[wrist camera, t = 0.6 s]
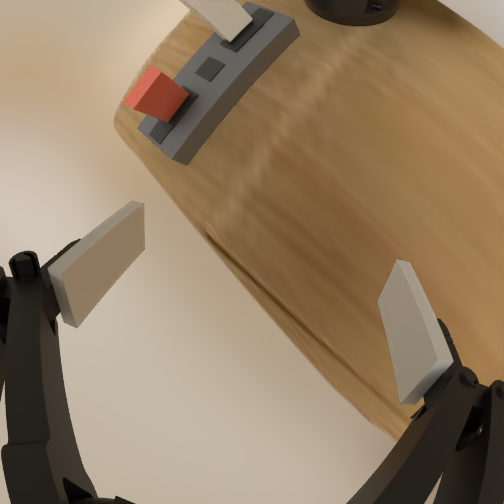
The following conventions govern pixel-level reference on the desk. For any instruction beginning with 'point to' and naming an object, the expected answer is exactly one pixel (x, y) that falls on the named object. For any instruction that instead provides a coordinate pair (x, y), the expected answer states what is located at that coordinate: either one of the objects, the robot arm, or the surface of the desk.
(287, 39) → the grey slotted base
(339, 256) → the desk surface
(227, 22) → the white rocker
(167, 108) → the red upright block
